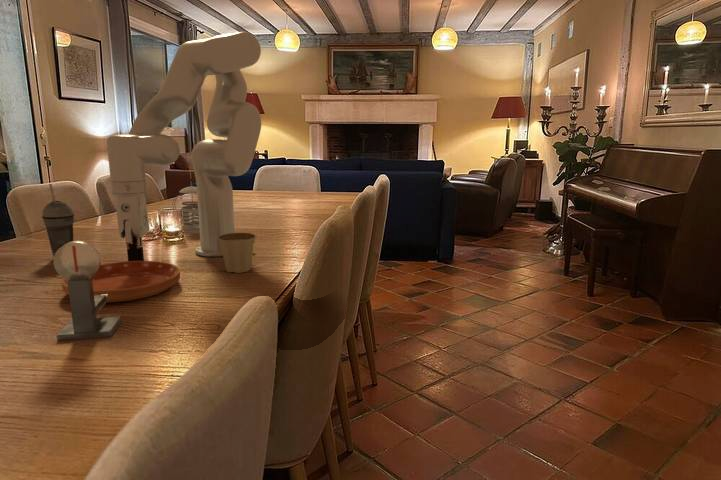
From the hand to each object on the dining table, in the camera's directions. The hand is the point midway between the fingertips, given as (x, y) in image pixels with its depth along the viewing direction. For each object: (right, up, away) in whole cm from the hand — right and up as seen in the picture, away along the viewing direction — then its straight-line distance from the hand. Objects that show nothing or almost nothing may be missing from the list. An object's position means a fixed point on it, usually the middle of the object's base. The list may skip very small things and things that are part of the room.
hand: (136, 263), depth 115 cm
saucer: (+3, -5, -12) cm, 13 cm away
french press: (-5, +9, +51) cm, 52 cm away
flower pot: (+24, -2, +3) cm, 24 cm away
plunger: (+7, -6, -28) cm, 30 cm away
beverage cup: (-25, +1, +12) cm, 28 cm away
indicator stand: (+8, -10, -33) cm, 35 cm away
